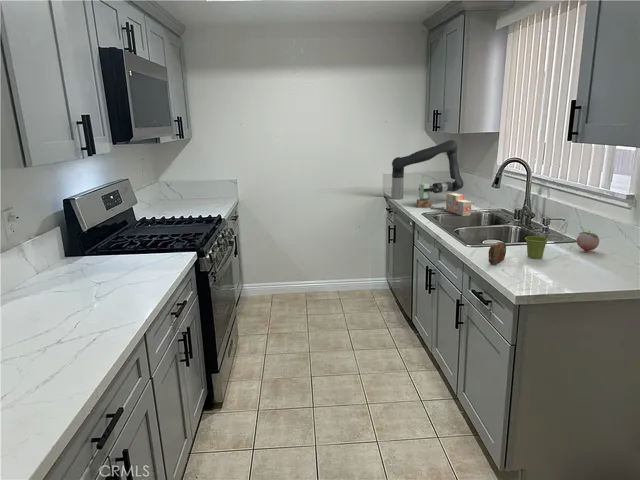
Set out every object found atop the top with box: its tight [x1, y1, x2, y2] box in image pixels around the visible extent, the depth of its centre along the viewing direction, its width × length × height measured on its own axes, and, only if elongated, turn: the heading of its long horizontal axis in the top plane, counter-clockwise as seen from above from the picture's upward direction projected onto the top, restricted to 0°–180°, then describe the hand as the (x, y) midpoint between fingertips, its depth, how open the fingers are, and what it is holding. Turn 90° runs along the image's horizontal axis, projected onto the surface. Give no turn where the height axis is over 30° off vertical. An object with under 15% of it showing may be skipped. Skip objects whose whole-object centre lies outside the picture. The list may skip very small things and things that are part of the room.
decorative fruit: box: [576, 230, 600, 252], centre depth 205 cm, size 9×8×10 cm
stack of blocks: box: [445, 192, 472, 217], centre depth 298 cm, size 21×6×12 cm, turn 15°
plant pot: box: [524, 235, 549, 260], centre depth 199 cm, size 9×9×9 cm
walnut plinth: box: [416, 198, 432, 209], centre depth 323 cm, size 9×9×5 cm
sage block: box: [418, 182, 430, 199], centre depth 321 cm, size 5×5×10 cm
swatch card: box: [430, 205, 446, 210], centre depth 317 cm, size 9×7×1 cm
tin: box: [488, 241, 507, 265], centre depth 195 cm, size 15×3×8 cm, turn 138°
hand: (421, 189), depth 319 cm, fingers closed on sage block, 5 cm apart
